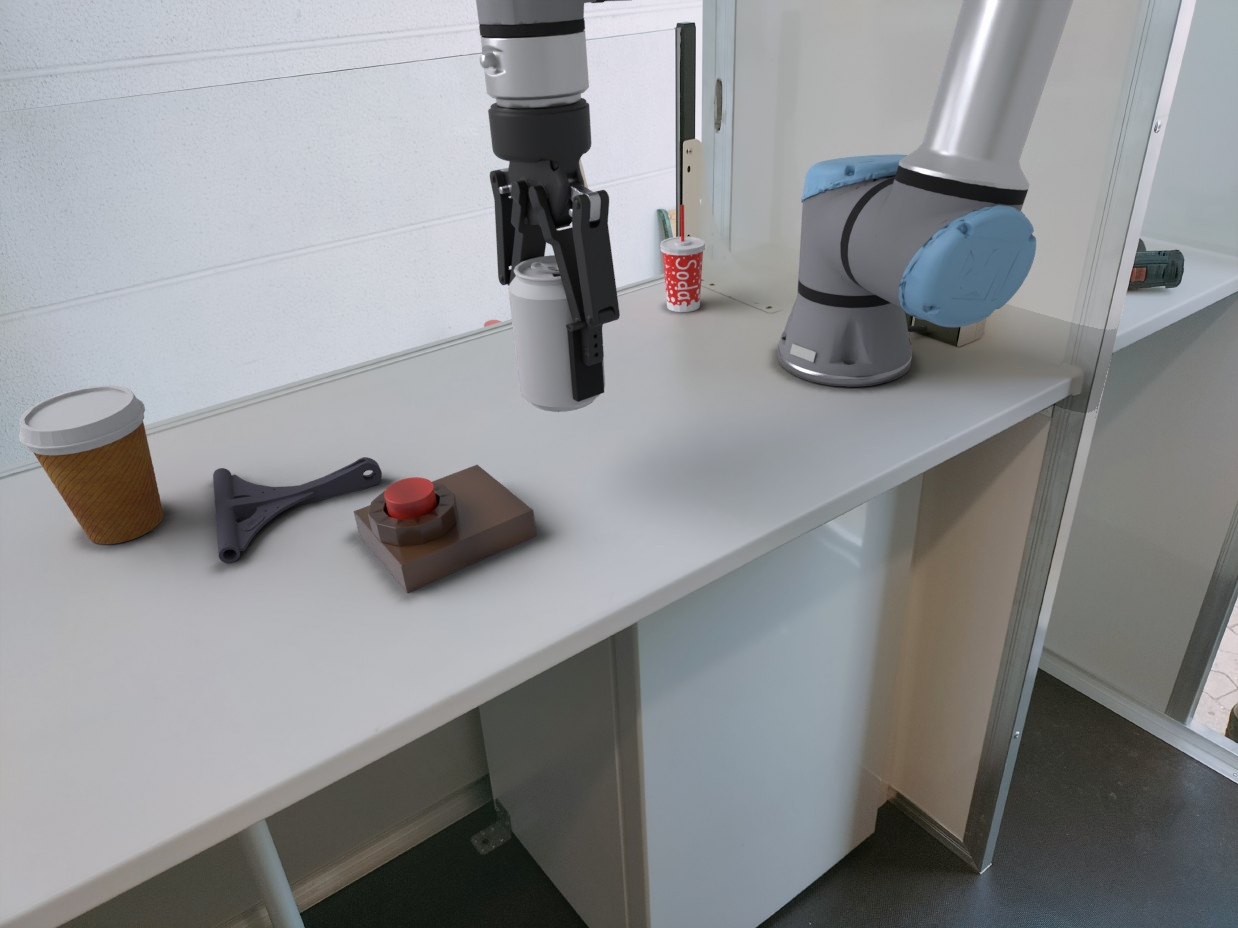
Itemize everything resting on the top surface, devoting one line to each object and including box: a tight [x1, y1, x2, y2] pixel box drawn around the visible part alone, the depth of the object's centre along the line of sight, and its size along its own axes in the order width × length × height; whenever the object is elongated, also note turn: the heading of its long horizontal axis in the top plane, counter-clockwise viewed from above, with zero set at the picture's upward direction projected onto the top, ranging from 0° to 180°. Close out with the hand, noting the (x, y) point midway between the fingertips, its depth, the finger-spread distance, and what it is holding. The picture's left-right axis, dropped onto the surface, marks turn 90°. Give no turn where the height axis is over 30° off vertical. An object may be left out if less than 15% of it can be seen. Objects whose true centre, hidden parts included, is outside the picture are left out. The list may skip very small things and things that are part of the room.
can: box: [507, 254, 606, 413], centre depth 72 cm, size 8×8×12 cm
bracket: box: [212, 456, 383, 564], centre depth 79 cm, size 14×15×3 cm
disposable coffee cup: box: [18, 384, 164, 545], centre depth 75 cm, size 10×10×12 cm
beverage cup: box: [659, 204, 706, 313], centre depth 116 cm, size 6×6×14 cm
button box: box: [353, 464, 537, 594], centre depth 72 cm, size 12×10×4 cm
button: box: [384, 476, 437, 520], centre depth 70 cm, size 4×4×2 cm
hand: (562, 380), depth 74 cm, fingers closed on can, 7 cm apart
